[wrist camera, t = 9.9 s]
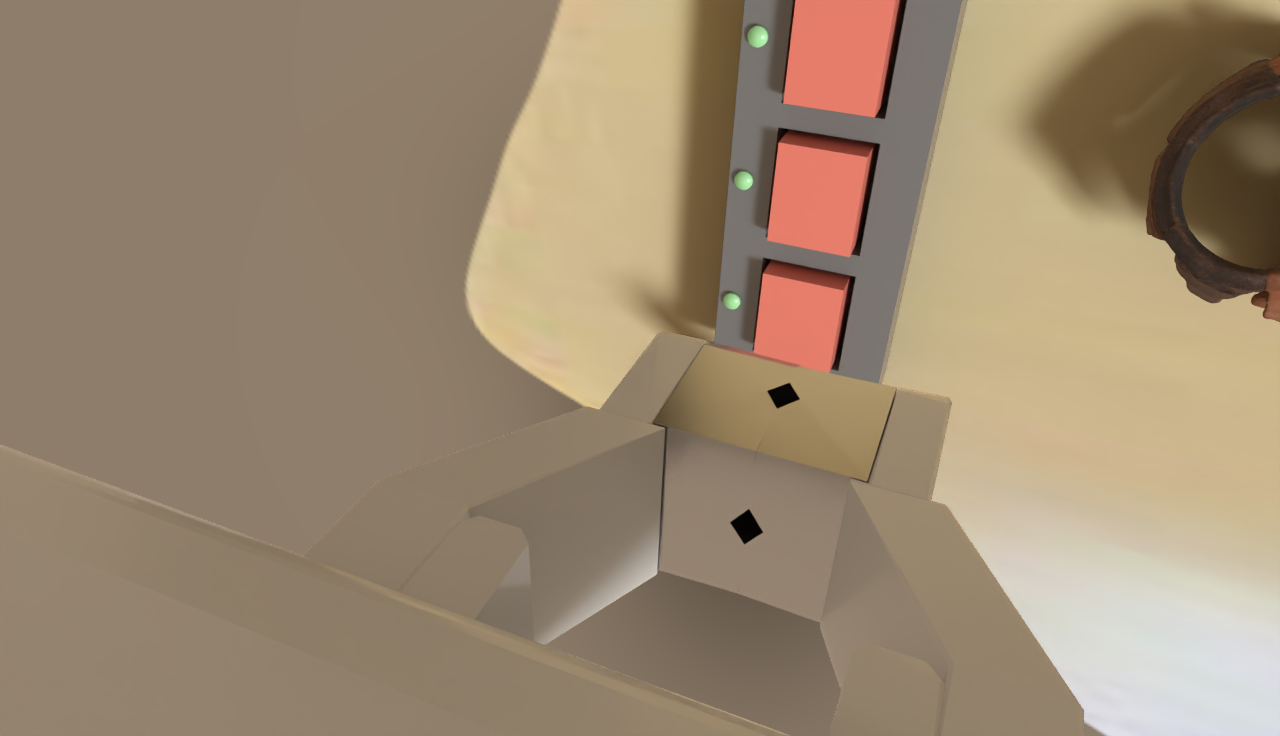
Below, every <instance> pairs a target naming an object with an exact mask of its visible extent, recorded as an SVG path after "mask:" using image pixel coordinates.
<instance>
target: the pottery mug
mask: <svg viewBox="0 0 1280 736" xmlns="http://www.w3.org/2000/svg"><path fill="white" fill-rule="evenodd" d="M1277 95H1280V55H1278V56H1277V57H1276V58H1274V59H1272V60H1269V59H1263V60H1260V61H1257V62H1254V63H1252V64H1250V65H1249V66H1247V67H1245V68H1244V69H1242V70H1240V71H1239V72H1237V73H1236V74H1234V75H1233V76H1231V77H1229V78H1228V79H1227V80H1225V81H1224V82H1222V83H1221V84H1220V85H1218V86H1217V87H1215V88H1214V89H1212V90H1211V91H1210V92H1209V93H1208V94H1206V95H1205V96H1204V97H1203V98H1201V99H1200V100H1199V101H1198V102H1197V103H1196V104H1195V105H1194V106H1193V107H1192V108H1191V109H1189V110H1188V112H1187V113H1186V114H1185V115H1184V116H1183V117H1182V119H1181V120H1180V121H1179V122H1178V123H1177V125H1176V126H1175V127H1174V128H1173V130H1172V131H1171V132H1170V134H1169V136H1168V138H1167V141H1168V143H1169V145H1168V146H1167V147H1166V149H1165V150H1164V151H1163V152H1162V153H1161V154H1160V155H1159V156H1158V158H1157V159H1156V161H1155V165H1154V169H1153V172H1152V176H1151V184H1150V189H1149V191H1150V193H1149V201H1148V209H1147V217H1146V226H1147V234H1148V235H1152V236H1153V237H1155V238H1157V239H1160V240H1164V241H1166V242H1167V243H1168V245H1169V246H1170V248H1171V249H1172V250H1173V251H1174V253H1175V254H1176V255H1175V263H1176V268H1177V271H1178V272H1179V274H1180V275H1181V276H1182V277H1183V278H1184V279H1185V280H1186V283H1187V288H1188V290H1189V291H1190V292H1191V293H1193V294H1195V295H1196V296H1198V297H1200V298H1201V299H1203V300H1205V301H1207V302H1209V303H1218V302H1220V301H1221V300H1222V299H1230V298H1234V297H1237V296H1239V295H1242V294H1248V293H1252V292H1259V293H1258V294H1255V295H1254V296H1253V297H1252V299H1251V303H1252V304H1253V305H1255V306H1258V307H1261V308H1265V310H1264V311H1263V317H1264V318H1266V319H1273V320H1276V321H1278V322H1280V268H1278V269H1268V270H1262V269H1253V268H1248V267H1243V266H1239V265H1236V264H1233V263H1230V262H1228V261H1226V260H1223V259H1222V258H1220V257H1218V256H1217V255H1215V254H1214V253H1212V252H1211V251H1209V250H1208V249H1207V248H1205V247H1204V246H1203V245H1202V244H1201V243H1200V242H1199V241H1198V240H1197V239H1196V238H1195V236H1194V235H1193V233H1192V232H1191V231H1190V230H1189V228H1188V225H1187V223H1186V220H1185V217H1184V213H1183V208H1182V200H1181V192H1182V184H1183V179H1184V175H1185V172H1186V169H1187V166H1188V164H1189V162H1190V160H1191V158H1192V156H1193V154H1194V153H1195V151H1196V149H1197V148H1198V147H1199V145H1200V144H1201V143H1202V142H1203V141H1204V139H1205V138H1206V137H1207V136H1208V135H1209V134H1210V133H1211V132H1212V131H1213V130H1214V129H1215V128H1216V127H1217V126H1218V125H1219V124H1220V123H1221V122H1223V121H1224V120H1226V119H1227V118H1229V117H1230V116H1231V115H1233V114H1235V113H1236V112H1238V111H1240V110H1242V109H1244V108H1246V107H1248V106H1250V105H1252V104H1254V103H1257V102H1259V101H1261V100H1264V99H1268V98H1271V97H1275V96H1277Z"/></svg>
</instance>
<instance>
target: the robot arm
mask: <svg viewBox="0 0 1280 736" xmlns="http://www.w3.org/2000/svg"><path fill="white" fill-rule="evenodd" d="M896 393H897V394H896ZM951 405H952V403H951V400H950V398H948V397H943V396H938V395H933V394H928V393H923V392H918V391H913V390H908V389H903V388H899V389H898V390H897V388H896V387H891V386H887V385H882V384H878V383H873V382H868V381H864V380H859V379H855V378H850V377H846V376H841V375H836V374H832V373H827V372H823V371H818V370H813V369H809V368H804V367H801V365H798V364H794V363H790V362H787V361H783V360H779V359H775V358H771V357H767V356H764V355H760V354H756V353H752V352H748V351H745V350H741V349H737V348H733V347H729V346H725V345H722V344H718V343H714V342H707V341H706V340H703V339H699V338H695V337H690V336H686V335H682V334H677V333H673V332H669V331H665V332H661V333H659V334H657V335H656V336H655V338H654V339H653V340H652V342H651V343H650V344H649V346H648V347H647V348H646V350H645V351H644V352H643V353H642V355H641V356H640V357H639V359H638V360H637V361H636V363H635V364H634V365H633V367H632V368H631V369H630V370H629V372H628V373H627V374H626V376H625V377H624V378H623V380H622V381H621V382H620V384H619V385H618V386H617V388H616V389H615V390H614V391H613V393H612V394H611V395H610V397H609V398H608V399H607V401H606V402H605V403H604V405H603V406H602V407H601V408H600V410H599V409H595V408H591V407H584V408H581V409H578V410H575V411H572V412H569V413H567V414H564V415H561V416H558V417H555V418H552V419H549V420H547V421H544V422H541V423H538V424H535V425H532V426H529V427H527V428H524V429H521V430H518V431H515V432H512V433H509V434H507V435H504V436H501V437H498V438H495V439H492V440H489V441H487V442H484V443H481V444H478V445H475V446H472V447H469V448H466V449H464V450H461V451H458V452H455V453H452V454H449V455H446V456H444V457H441V458H438V459H435V460H432V461H429V462H426V463H424V464H421V465H418V466H415V467H412V468H409V469H406V470H404V471H401V472H398V473H395V474H392V475H389V476H386V477H383V478H381V479H379V480H378V481H377V482H376V483H375V484H374V485H373V486H372V487H371V488H370V489H369V490H368V491H367V492H366V493H365V494H364V495H363V496H362V497H361V498H360V499H359V500H358V501H357V502H356V503H355V504H354V505H353V506H352V507H351V508H350V509H349V510H348V511H347V512H346V513H345V514H344V515H343V516H342V517H341V518H340V519H339V520H338V521H337V522H336V523H335V524H334V525H333V526H332V527H331V528H330V529H329V530H328V531H327V532H326V533H325V534H324V535H323V536H322V537H321V538H320V539H319V540H318V541H317V542H316V543H315V544H314V545H313V546H312V547H311V548H310V550H308V551H307V552H306V554H304V555H303V556H301V555H298V554H295V553H293V552H290V551H288V550H285V549H282V548H279V547H277V546H274V545H271V544H269V543H266V542H263V541H260V540H258V539H255V538H252V537H250V536H247V535H244V534H242V533H239V532H236V531H233V530H231V529H228V528H225V527H222V526H220V525H217V524H214V523H212V522H209V521H206V520H204V519H201V518H198V517H195V516H193V515H190V514H187V513H185V512H182V511H179V510H176V509H174V508H171V507H168V506H165V505H163V504H160V503H158V502H154V501H152V500H149V499H147V498H144V497H141V496H139V495H136V494H133V493H130V492H127V491H125V490H122V489H119V488H117V487H114V486H111V485H109V484H106V483H103V482H100V481H98V480H95V479H92V478H90V477H87V476H84V475H81V474H79V473H76V472H73V471H71V470H68V469H65V468H62V467H60V466H57V465H54V464H52V463H49V462H46V461H44V460H41V459H38V458H35V457H33V456H30V455H27V454H25V453H22V452H19V451H16V450H14V449H11V448H8V447H6V446H3V445H0V736H790V735H787V734H785V733H782V732H779V731H776V730H773V729H771V728H768V727H766V726H763V725H760V724H758V723H755V722H752V721H749V720H747V719H744V718H741V717H738V716H736V715H733V714H730V713H727V712H725V711H722V710H719V709H717V708H714V707H711V706H709V705H706V704H703V703H701V702H698V701H695V700H692V699H690V698H687V697H684V696H681V695H679V694H676V693H673V692H671V691H668V690H665V689H662V688H660V687H657V686H654V685H652V684H649V683H646V682H643V681H641V680H638V679H635V678H633V677H630V676H627V675H624V674H621V673H619V672H616V671H613V670H611V669H608V668H605V667H602V666H600V665H597V664H595V663H592V662H589V661H586V660H583V659H581V658H578V657H576V656H572V655H570V654H567V653H565V652H562V651H559V650H556V649H554V648H551V647H548V646H545V644H547V643H548V642H550V641H552V640H553V639H555V638H556V637H558V636H559V635H561V634H563V633H564V632H566V631H567V630H569V629H570V628H572V627H574V626H575V625H577V624H579V623H580V622H582V621H583V620H585V619H587V618H588V617H590V616H591V615H593V614H595V613H596V612H597V611H599V610H601V609H603V608H604V607H606V606H607V605H609V604H610V603H612V602H614V601H615V600H617V599H618V598H620V597H621V596H623V595H624V594H626V593H628V592H630V591H631V590H633V589H634V588H636V587H637V586H639V585H641V584H642V583H644V582H645V581H647V580H649V579H650V578H652V577H653V576H655V575H656V574H657V570H661V571H664V572H667V573H671V574H674V575H678V576H681V577H684V578H687V579H691V580H694V581H698V582H701V583H704V584H708V585H711V586H714V587H718V588H721V589H725V590H728V591H731V592H735V593H738V592H739V594H741V595H744V596H746V597H749V598H752V599H755V600H758V601H761V602H763V603H766V604H769V605H772V606H774V607H778V608H780V609H783V610H786V611H789V612H792V613H794V614H797V615H800V616H803V617H806V618H808V619H811V620H814V621H817V622H820V629H821V632H822V635H823V638H824V641H825V644H826V647H827V650H828V653H829V656H830V659H831V662H832V665H833V668H834V671H835V674H836V677H837V680H838V683H839V686H840V689H841V694H840V698H839V701H838V705H837V708H836V712H835V715H834V719H833V722H832V726H831V729H830V732H829V736H1084V710H1083V708H1082V707H1081V705H1080V704H1079V702H1078V701H1077V699H1076V698H1075V696H1074V695H1073V693H1072V692H1071V690H1070V689H1069V687H1068V686H1067V684H1066V683H1065V681H1064V680H1063V678H1062V677H1061V675H1060V674H1059V672H1058V671H1057V669H1056V668H1055V666H1054V665H1053V663H1052V662H1051V660H1050V659H1049V657H1048V656H1047V654H1046V653H1045V651H1044V650H1043V648H1042V647H1041V645H1040V644H1039V643H1038V641H1037V640H1036V638H1035V637H1034V635H1033V634H1032V632H1031V631H1030V629H1029V628H1028V626H1027V625H1026V623H1025V622H1024V620H1023V619H1022V617H1021V616H1020V614H1019V613H1018V611H1017V610H1016V608H1015V607H1014V605H1013V604H1012V602H1011V601H1010V599H1009V598H1008V596H1007V595H1006V593H1005V592H1004V590H1003V589H1002V587H1001V586H1000V584H999V583H998V581H997V580H996V578H995V577H994V575H993V574H992V572H991V571H990V569H989V568H988V566H987V565H986V563H985V562H984V560H983V559H982V557H981V556H980V554H979V553H978V551H977V550H976V548H975V547H974V545H973V544H972V542H971V541H970V539H969V538H968V536H967V535H966V533H965V532H964V530H963V529H962V527H961V526H960V524H959V523H958V521H957V520H956V518H955V517H954V515H953V514H952V512H951V511H950V509H949V508H948V507H947V506H946V505H944V504H940V503H937V502H933V501H931V499H932V495H933V490H934V485H935V481H936V476H937V471H938V466H939V462H940V457H941V452H942V447H943V443H944V438H945V433H946V429H947V424H948V419H949V414H950V410H951Z"/></svg>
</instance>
